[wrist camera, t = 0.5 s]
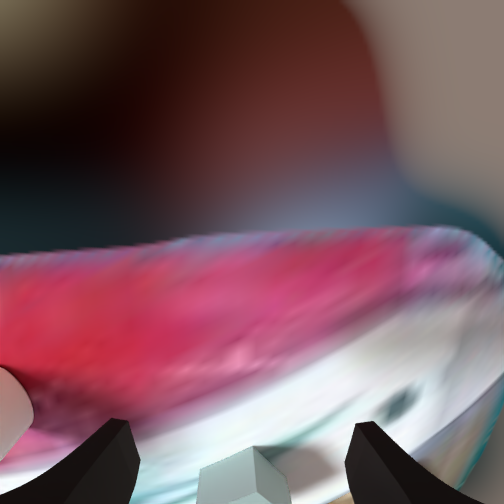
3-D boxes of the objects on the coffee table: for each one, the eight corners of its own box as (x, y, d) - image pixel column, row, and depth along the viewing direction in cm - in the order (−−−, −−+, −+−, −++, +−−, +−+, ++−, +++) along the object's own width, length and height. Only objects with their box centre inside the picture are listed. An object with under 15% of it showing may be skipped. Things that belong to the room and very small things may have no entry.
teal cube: (236, 497, 21) (237, 540, 16) (199, 468, 21) (195, 513, 16) (286, 476, 21) (295, 520, 16) (252, 445, 21) (256, 491, 16)
